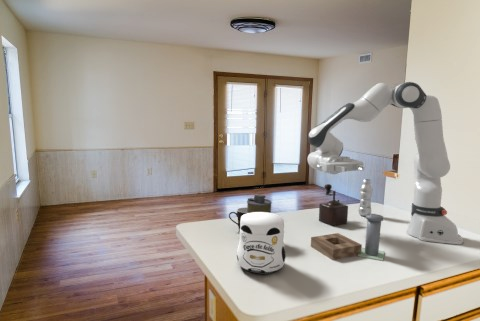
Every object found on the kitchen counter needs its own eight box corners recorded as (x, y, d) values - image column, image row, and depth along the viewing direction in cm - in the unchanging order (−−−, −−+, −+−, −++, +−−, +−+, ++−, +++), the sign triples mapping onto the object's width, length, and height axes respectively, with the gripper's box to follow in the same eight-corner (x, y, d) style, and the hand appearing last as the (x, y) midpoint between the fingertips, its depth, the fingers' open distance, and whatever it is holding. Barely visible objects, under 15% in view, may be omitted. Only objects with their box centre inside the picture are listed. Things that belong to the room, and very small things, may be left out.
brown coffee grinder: (348, 223, 172) (351, 188, 170) (333, 226, 167) (335, 191, 164) (326, 215, 186) (328, 183, 183) (311, 218, 180) (313, 184, 177)
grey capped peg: (380, 252, 136) (383, 215, 134) (379, 257, 130) (382, 219, 128) (363, 248, 139) (366, 212, 137) (361, 254, 133) (365, 216, 131)
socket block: (337, 241, 147) (338, 233, 147) (361, 254, 134) (361, 244, 134) (310, 246, 141) (311, 237, 141) (332, 259, 129) (333, 249, 128)
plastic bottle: (372, 217, 183) (374, 181, 180) (358, 216, 184) (361, 180, 181) (370, 214, 189) (372, 179, 186) (357, 213, 190) (359, 178, 187)
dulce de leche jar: (249, 281, 111) (250, 228, 108) (229, 260, 127) (230, 213, 124) (294, 272, 118) (296, 222, 115) (270, 253, 133) (271, 209, 131)
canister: (275, 240, 148) (276, 195, 145) (259, 246, 140) (261, 199, 137) (256, 233, 155) (257, 191, 152) (240, 239, 147) (241, 194, 145)
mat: (384, 252, 137) (384, 251, 137) (382, 260, 129) (382, 259, 129) (360, 248, 141) (360, 247, 141) (357, 256, 133) (358, 255, 133)
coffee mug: (258, 230, 160) (258, 209, 158) (248, 235, 153) (249, 213, 151) (237, 225, 166) (237, 205, 165) (227, 230, 159) (227, 209, 157)
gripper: (314, 158, 151) (334, 162, 138) (350, 156, 159) (373, 160, 147) (313, 172, 152) (334, 177, 139) (349, 170, 160) (371, 175, 147)
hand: (354, 169), depth 143 cm, fingers open, 8 cm apart
